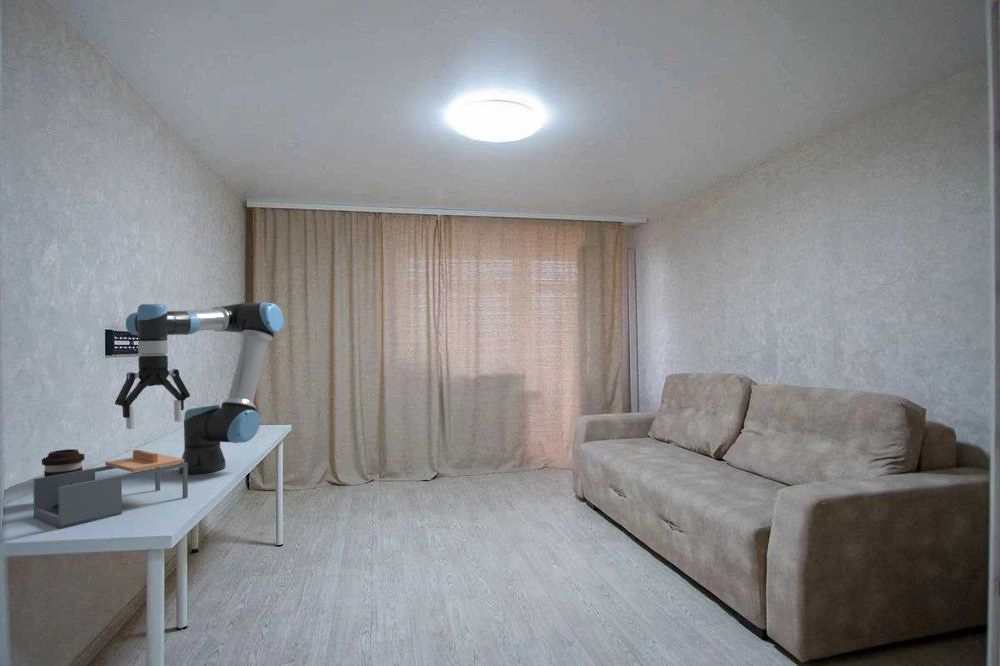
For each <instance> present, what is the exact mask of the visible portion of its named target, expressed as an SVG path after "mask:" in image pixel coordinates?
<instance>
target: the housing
mask: <svg viewBox="0 0 1000 666" xmlns="http://www.w3.org/2000/svg"><path fill="white" fill-rule="evenodd" d="M181 467H183V473H182V499H187V497H189V495H188V494H189V492H188V491H189V489H188V487H189V482H188V481H189V479H188V477H189V476H188V475H189V474H188V463H179V464H174V465H169V466H164V467H158V468H153V469H148V470H143V471H138V472H130V473H125V474H124V473H123V474H120V475H115V476H110V477H109V476H108V477H105V478H99V479H96V473H97V472H98V473H99V472H102V471H108V470H109V471H110V470H114V469H116V468H114V467H110V466H106V465H104V466H98V467H93V468H87V469H82V470H81V471H76V472H70V473H64V474H59V475H53V476H48V477H45V476H42V477H37V478H33V519H35V520H37V521H41V522H42V523H44V524H48V525H49V526H52V527H54V528H57V529H59V530H63V529H66V528H71V527H74V526H79V525H82V524H86V523H90V522H91V523H92V522H95V521H98V520H99V521H100V520H103V519H106V518H111V517H115V516H118V515H122V514H123V513H122V511H123V509H122V506H123V505H122V504H123V503H122V502H123V501H122V500H123V497H122V496H123V495H122V494H123V493H122V492H123V491H122V489H123V486H122V484H123V483H122V480H125V479H130V478H136V477H140V476H145V475H150V474H154V480H155V481H154V483H155V486H154V488H155V489H154V490H155V491H156V492H158V491H161V473H162V472H165V471H170V470H175V469H179V468H181ZM74 482H75V483H76V484H72V483H74ZM71 484H72V485H71ZM56 504H59V507H57V508H55V509H53V506H54V505H56Z"/></svg>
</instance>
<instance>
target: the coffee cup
mask: <svg viewBox="0 0 1000 666" xmlns="http://www.w3.org/2000/svg"><path fill="white" fill-rule="evenodd" d="M83 461H85V454H83V453H80V452H79V449H74V448H73V449H71V448H70V449H69V448H68V449H59V450H55V451H54V450H53V451H51V452H48V454H47V456H45V457H43V458H42V459H41V466H44V472H43V474H44V476H43V477H48V476H53V475H59V474H64V473H70V472H76V471H81V470H83V463H82V462H83Z"/></svg>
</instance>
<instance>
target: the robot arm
mask: <svg viewBox="0 0 1000 666" xmlns="http://www.w3.org/2000/svg"><path fill="white" fill-rule="evenodd" d="M284 321H285V319H284V316H283V313H282V310H281V309H280V307H279V306H278V305H277V304H275V303H272V302H265V301H264V302H247V303H246V302H245V303H241V302H240V303H235V304H229V305H223V306H214V307H212V308H211V309H193V310H192V309H191V310H190V309H189V310H170V311H169V310H167V306H166V304H163V303H159V304H158V303H153V304H152V303H143V304H140V305H139V306H138V307H137V311H136V312H132V313H130V314H129V315H128V316H127V317H126V319H125V327H126V330H127V331H128V333H130V334H132V335H135V336H137V347H138V348H137V351H138V355H140V356H139V357H138V372H130V371H129V372H127V373H126V380H125V381H124V383H123V385H122V387H121V389H120V391H119V393H118V395H117V398H116V399H115V401H114V405H116V406H119V407H122V416H123V418H124V419H125V420H126V421H125V422H126V423H125V424H126V429H127V430H129V429H130V430H133V429H134V428H135V426H134V425H135V424H134V420H135V419H134V406H132V404H133V403H134V401H135V400H136V399H137V398H138V396H139V395H140V394H141V393H142V391H143V390H144V389H147V387H154V386H163V388H165V389H166V390H167V391H168V392H169V393H170V394H171V395H172V396H173V397H174V398H175V399H176V400H175V399H174V400H173V413H174V419H173V420H174V422H177V423H178V422H179V423H180V422H182V411H184V408H185V407H184V403H185V402H184V401H185V400H186V399H188V398H190V396H191V394H190V392H189V391H188V389H187V387H186V385H185V383H184V381H183V380H182V378H181V376H180V370H179V369H176V368H172V369H170V370H169V369H168V367H169V357H168V356H167V354H168V352H169V351H168V336H178V335H179V336H183V335H184V336H185V335H186V336H188V335H193V334H195V333H197V332H198V331H212V330H213V331H215V332H218V333H220V332H221V333H222V332H226V333H228V332H229V333H240V335H241V336H242V338H243V340H242V344H241V348H240V351H239V355H238V360H237V364H236V367H235V370H234V374H233V378H232V383H231V386H230V390H229V393H228V398H227V399H225V400H223V402H222V403H221V405H219V404H218V405H217V404H215V405H208V406H201V407H195V408H188V409H187V410H186V411H185V412H184V418H183V428H184V429H183V434H184V436H183V438H184V441H183V443H184V446H183V447H184V451H183V453H182V455H181V459H184V463H188V475H197V474H198V475H199V474H208V473H213V472H218V471H220V470H224V469H226V465H227V464H226V458H225V457H224V453H223V450H222V448H221V443H233V444H239V443H243V444H244V443H247V442H249V441H251V439H253V438H254V437H255V436H256V435H257V433H258V431H259V428H260V425H261V424H260V423H261V420H260V415H259V414H258V412H257V411H256V410H257V407H256V405H255V404H254V402H255V401H254V400H255V397H256V393H257V388H258V385H259V380H260V377H261V371H262V367H263V364H264V360H265V359H264V358H265V355H266V353H267V352H266V351H267V349H268V343H270V342H272V341H273V340H274V337H275V336H274V335H275V334H277V333H279V332H280V331H282V330H283V327H284V323H285V322H284ZM169 376H170V378H172V380H173V382H174V384H175V386H176V387H175V386H174V385H173V384H172V383H171V381H170V380H168V379H167V378H168V377H169ZM137 379H139V381H138V383H137V384H136V386H135V387H134V388H133V389H132V387H133V385H134V383H135V381H136V380H137ZM131 389H132V391H131V392H130V390H131ZM178 473H179V474H183V467H181V468H178Z"/></svg>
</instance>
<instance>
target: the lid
mask: <svg viewBox="0 0 1000 666" xmlns="http://www.w3.org/2000/svg"><path fill="white" fill-rule="evenodd" d="M180 463H184V459H182V457H175V456H170V455H166V454H161V453H156V452H150V451H145V450H141V449H140V450H139V449H134V450H132V456H131V457H126V458H125V457H124V458H120V459H114V460H113V459H112V460H109V461H105V462H104V464H105V465H104V466H110V467H114V468H115V469H120V470H124V471H127V472H130V473H134V472H139V471H144V470H150V469H155V468H158V467H165V466H170V465H175V464H180Z"/></svg>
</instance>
